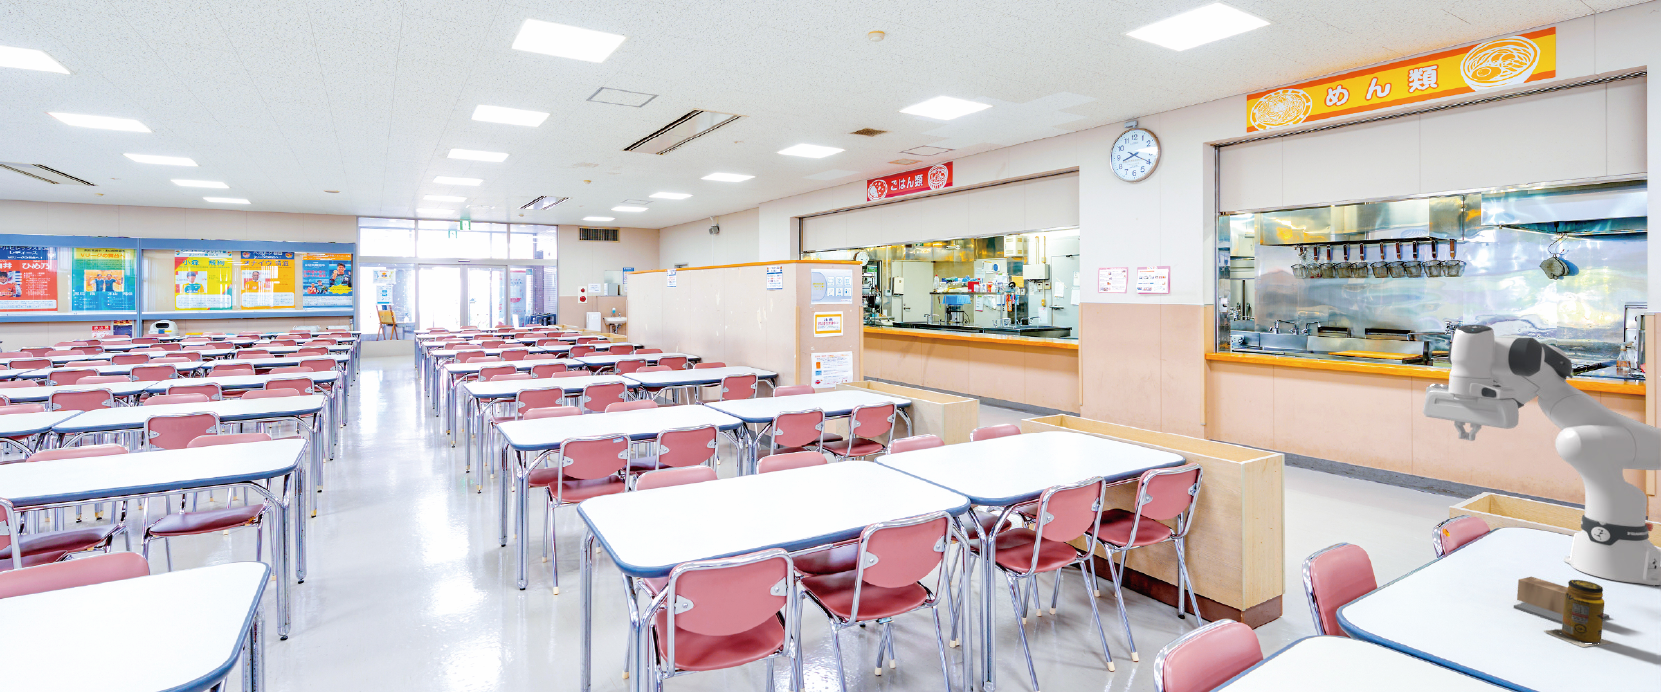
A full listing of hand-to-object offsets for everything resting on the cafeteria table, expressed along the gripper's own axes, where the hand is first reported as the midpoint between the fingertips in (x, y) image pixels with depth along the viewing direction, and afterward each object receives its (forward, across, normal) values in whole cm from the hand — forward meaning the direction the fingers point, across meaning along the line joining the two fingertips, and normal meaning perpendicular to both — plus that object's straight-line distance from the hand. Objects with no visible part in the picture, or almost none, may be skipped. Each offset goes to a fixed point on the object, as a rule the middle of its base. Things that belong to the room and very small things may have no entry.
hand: (1466, 439), depth 198 cm
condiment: (+35, +34, -20) cm, 53 cm away
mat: (+35, +26, -8) cm, 44 cm away
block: (+32, +18, -8) cm, 38 cm away
